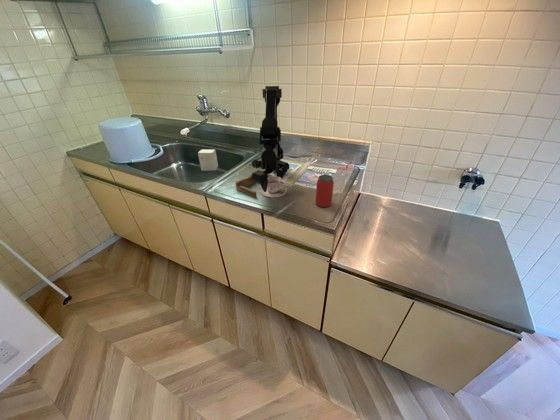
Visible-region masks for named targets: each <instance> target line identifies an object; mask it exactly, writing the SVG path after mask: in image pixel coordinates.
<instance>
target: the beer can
mask: <svg viewBox="0 0 560 420" xmlns="http://www.w3.org/2000/svg"><path fill="white" fill-rule="evenodd" d="M318 176H319V177H318V178H317V180H316V187H315V188H316V190H315V204H316V205H317V206H318V207H320V208H327V207H330V206H331V205H332V201H333V191H334V186H335V185H334V184H335V183H334V180H333V179H334V177H332V175H328V174H322V175H318Z"/></svg>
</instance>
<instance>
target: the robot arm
mask: <svg viewBox="0 0 560 420" xmlns="http://www.w3.org/2000/svg"><path fill="white" fill-rule="evenodd" d="M282 89H283V88H280V85H265V88H262V89H261V90H262V99H264V102H265V113H264V116H265V117H264V118H263V119H262V120H261V126H260V128H259V145H263V148H262V151H261V155H260V159H253V160H251V165H252V167H253V168H255V169H257V170H256V171H253V172H252V173H251V175H252V179H253V180H256V181H255V182H258V183H259V185H260V187H261V189H263V191H264V192H266V191H268V190H267V185H268V180H267V179H268V175H269V174H270V175H272V174H273V173H276V176H277V177H280V178H282V180H283V179H284V178H285V175H286V173H287V172H288V170H289V169H290V164H289V162H288V161H283V159H284V155H285V154H284V150H283V147H281V145H282V144H281V141H282V130H281V128H280V126H279V123H278V106H279V104H280V102H281V99H282V95H283V94H282V93H283V91H282ZM258 169H259V170H258ZM260 169H261V170H265V171H264V172H263V171H261V170H260Z"/></svg>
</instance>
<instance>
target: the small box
mask: <svg viewBox="0 0 560 420" xmlns="http://www.w3.org/2000/svg"><path fill="white" fill-rule="evenodd" d="M197 156H198V161H199V164H200V165H199V166H200V169H201V172H203V171H207V172H211V171H216V170H217V169H218V167H219V164H218V157H217V151H216V149H200V150H199V151H198V152H197Z"/></svg>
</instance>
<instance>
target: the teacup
mask: <svg viewBox="0 0 560 420" xmlns="http://www.w3.org/2000/svg"><path fill="white" fill-rule="evenodd" d="M267 180H268V185H267V190H266V192H264V191H263V189H262V188H261V190H260V194H261V195H262V196H264V197H267V198H279V197H283V196H285V195H286V194H287V191H288V190H287V188H285V187H284V181H283V179H282V178H280V177H277V176H275V175H272V176H269V177H268V179H267ZM281 184H282V186H280V185H281ZM283 187H284V188H285V191H284V192H283V193H277V192H278V191H279V190H281V189H282V188H283Z"/></svg>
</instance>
